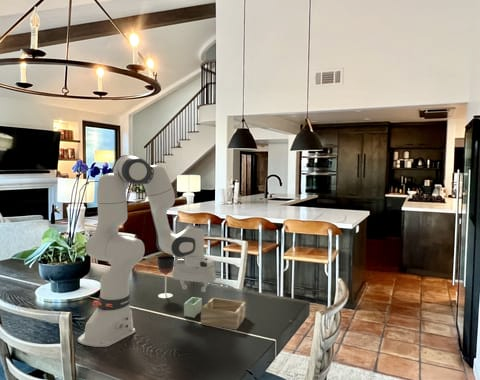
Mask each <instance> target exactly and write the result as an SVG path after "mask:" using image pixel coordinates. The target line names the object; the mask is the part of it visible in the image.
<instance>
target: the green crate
mask: <svg viewBox="0 0 480 380" xmlns="http://www.w3.org/2000/svg"><path fill="white" fill-rule="evenodd" d="M202 307H203V298H202V297H195V296H192V297H190V298H189V299H188V300H186V301H185V302H184V304H183V317H186V316H187V317H186V318H195V317H196V316H198V315H199V314H201V308H202ZM197 314H198V315H197Z"/></svg>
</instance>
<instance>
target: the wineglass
mask: <svg viewBox="0 0 480 380" xmlns="http://www.w3.org/2000/svg"><path fill="white" fill-rule="evenodd" d="M175 257H176V256H173V255H171V256H170V255H161V256H158V257H157V267H158V271H159V272H160V273H161V274H164V293H159V294H158V298H161V299H169V298H173V296H174V295H173V294H172V293H168V292H167V278H168V277H167V276H168V274H170V273H172V272H173V269H174V266H173V263H174V261H175V260H176V259H175Z"/></svg>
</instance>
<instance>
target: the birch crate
mask: <svg viewBox="0 0 480 380" xmlns="http://www.w3.org/2000/svg"><path fill="white" fill-rule="evenodd" d="M246 307H247V301H241V300H233V299H226V298H219V297H212V298H210V299H209V300H208V301H207V302H206V303H205V304H204V305H202V308H201V312H200V325H203V324H205V325H204V326H210V325H211V327H217V328H223V327H224V329H231V330H237V329H238V328H239V327H240V325H241V324H242V322H243V321H244V319H246V312H247V310H246V309H247V308H246Z"/></svg>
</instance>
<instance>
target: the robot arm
mask: <svg viewBox="0 0 480 380" xmlns="http://www.w3.org/2000/svg"><path fill="white" fill-rule="evenodd" d="M131 184H132V185H142V186H143V187H144V190H145V194H146V197H147V199H148V202H149V206H150V211H151V213H150V214H151V216H152V221H153V224H154V228H155V234H156V238H155V239H156V242H155V244H156V248H157V249H158V251H159V252H161V253H163V254H167V255H169V256H170V255H171V256H173V257H177V258H176V259H175V260H174V263H173V266H174V267H173V270H172V278H173V279H174V280H179V283H180V285H181V286H182V287H181V290H186V289H187V284H185V281H189V282H195V283H196V282H198V283H203V285H204V286H202V287H201V288H200V289H201V290H200V292H202V293H205V292H206V288H207V286H208V284H213V283H214V282H216V279H217V278H216V277H217V275H216V267H215V266H214V264H215V260H213V259H212V258H209V257H207V256H205V252H204V247H205V234H204V233H205V232H204V229H203V228H202V227H201V226H198V225H192V224H191V225H190V224H189V225H186V227H185V228H184V229H183V230H182V231H180V232H178V233H176V232H174V230H172V229H171V226H170V224H169V219H168V214H167V212H168V210H170V209H171V208H172V207H173V206H174V204H175V202H176V197H175V191H174V187H173V185H172V183H171V180H170V177H169V175H168V173H167V171H166V170H165V168H164V167H163V166H162V165H158V164H153V165H150V163H148V162H147V161H146V159H144V158H142V157H139V156H137V155H133V154H123V155H121V156H119V157H118V158H116V160H115V161H114V164H113V166H112V168H111V170H110V172H109V173H105V174H103V175H101V176H100V177H99V179H98V181H97V187H96V188H97V189H96V203H97V225H96V229H95V231H94V233H93V234H92V235H91V236H89V238H88V239H87V241H86V244H85V252H86V253H87V255H88V256H89V257H91V258H93V259H96V260H98V261H104V262H110V269H109V270H108V271H106V272H105V273H103V274H102V275H101V277H100V282H99V283H100V285H99V286H100V288H99V289H100V293H99V296H98V297H99V298H98V300H93V301H92V302H93V303H92V306H93V307H96V309H95V310H94V311H93V312H92V313H93V314H91V316H90V318H89V319H88V320H87V322H86V324H85V328H84V332H83V334H81V335H80V336H79V337H78V338H77V342H78V344H79V343H80V344H82V345H84V346H90V347H96V348H97V347H98V348H103V347H104V348H106V347H109V346H111V345H114V344H116V343H117V342H120V341H122V340H123V339H125V338H127V337H129V336H131V335H133V334H134V333H136V328H135V327H134V321H133V312H132V309H131V306H130V304H131V294H130V278H131V274H132V270H133V269H134V267H135V266H136V265H137V264H138V263H139V262H140V261H141V260H142V259H143V257H144V255H145V250H146V249H145V248H146V247H145V243H144V242H143V241H142V240H141V239H140V238H136V237H134V236H131V235H130V236H129V235H121V234H119V230H120V229H119V228H120V226H122V225H123V224H125V223H126V222H127V220H128V205H127V204H128V202H127V188H128V186H129V185H131ZM183 257H184V259H182V258H183ZM180 258H181V259H180Z"/></svg>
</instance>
